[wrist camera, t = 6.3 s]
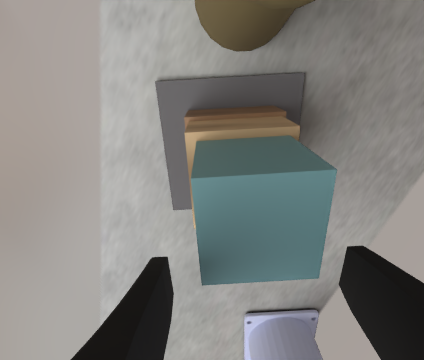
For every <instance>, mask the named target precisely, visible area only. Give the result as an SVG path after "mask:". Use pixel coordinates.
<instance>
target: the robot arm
mask: <svg viewBox="0 0 424 360" xmlns="http://www.w3.org/2000/svg"><path fill="white" fill-rule="evenodd" d="M339 286H340V288H341V290H342V293H343V295H344V297H345V299H346V301H347V303H348V305H349V307H350V310H351V311H352V313H353V315H354V316H355V318H356V320H357V321H358V323H359V325H360V326H361V328H362V329H363V331H364V333H365V334H366V336H367V338H368V339H369V341H370V343H371V344H372V346H373V347H374V349H375V350H376V352H377V354H378V356H379V357H380V359H381V360H424V283H422V282H421V281H419V280H418V279H416V278H414V277H413V276H411V275H410V274H408V273H406V272H405V271H403V270H402V269H400V268H398V267H397V266H395V265H394V264H392V263H390V262H389V261H387V260H386V259H384V258H382V257H381V256H379V255H378V254H376V253H374V252H373V251H371V250H369V249H368V248H366V247H364V246H349V247H347V250H346V255H345V259H344V264H343V268H342V273H341V277H340V281H339ZM173 295H174V293H173V287H172V281H171V275H170V269H169V263H168V257H152V258H151V259H150V261H149V262H148V264H147V265H146V267H145V268H144V270H143V271H142V273H141V274H140V275H139V277H138V278H137V280H136V281H135V283H134V284H133V285H132V287H131V288H130V289H129V291H128V292H127V293H126V295H125V296H124V297H123V299H122V300H121V301H120V303H119V304H118V305H117V307H116V308H115V309H114V310H113V312H112V313H111V314H110V315H109V317H108V318H107V319H106V320H105V321H104V323H103V324H102V325H101V326H100V328H99V329H98V330H97V331H96V332H95V333H94V335H93V336H92V337H91V338H90V339H89V340H88V341H87V343H86V344H85V345H84V346H83V347H82V348H81V349H80V350H79V351H78V352H77V353H76V354H75V356H74V357H73V358H72V359H71V360H163V359H164V354H165V349H166V344H167V339H168V334H169V329H170V324H171V317H172V306H173ZM318 317H319V314H318V311H317V310H299V311H281V312H264V313H248V314H246V315H245V316H244V360H323V358H322V356H321V354H320V351H319V349H318V346H317V344H316V341H315V339H314V338H315V333H316V328H317V322H318Z"/></svg>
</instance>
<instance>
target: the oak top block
mask: <svg viewBox="0 0 424 360" xmlns="http://www.w3.org/2000/svg"><path fill="white" fill-rule="evenodd" d="M299 134H300V126H299V125H297V124H296V123H294V122H292V121H290V120H288V119H286V118H284V117H283V116H274V117H257V118H240V119H222V120H205V121H189V122H188V125H187V127H186V130H185V143H186V153H187V163H188V173H189V183H190V193H191V203H192V212H193V222H194V229H196V224H195V215H194V205H193V196H192V186H191V173H192V167H193V160H194V154H195V147H196V141H207V140H223V139H239V138H255V137H270V136H286V135H290V136H292V137H293V138H294V139H296V140H297V141H298V142H299Z"/></svg>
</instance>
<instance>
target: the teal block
mask: <svg viewBox="0 0 424 360" xmlns="http://www.w3.org/2000/svg"><path fill="white" fill-rule="evenodd" d="M336 173H337V169H336V168H334V167H333V166H332V165H330V164H329V163H327V162H326V161H325V160H323V159H322V158H321V157H319V156H318V155H316V154H315V153H314V152H312V151H311V150H309V149H308V148H307V147H305V146H304V145H303V144H301V143H300V142H298V141H297V140H296V139H294V138H293V137H292V136H290V135H286V136H270V137H255V138H239V139H223V140H207V141H196V147H195V154H194V160H193V167H192V173H191V186H192V196H193V205H194V215H195V224H196V234H197V244H198V253H199V263H200V272H201V282H202V285H217V284H233V283H250V282H267V281H283V280H300V279H316V278H319V274H320V268H321V262H322V256H323V250H324V244H325V238H326V232H327V226H328V221H329V215H330V209H331V203H332V197H333V191H334V185H335V179H336Z"/></svg>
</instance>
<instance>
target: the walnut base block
mask: <svg viewBox="0 0 424 360" xmlns="http://www.w3.org/2000/svg"><path fill="white" fill-rule="evenodd" d="M274 116H283V117H284V118H286V111H284V110H282V109H280V108H278V107H276V106H273V105H272V106H255V107H238V108H221V109H204V110H188V111H187V113H186V115H185V117H184V120H185V130H186V127H187V125H188V122H189V121H205V120H222V119H240V118H257V117H274Z"/></svg>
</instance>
